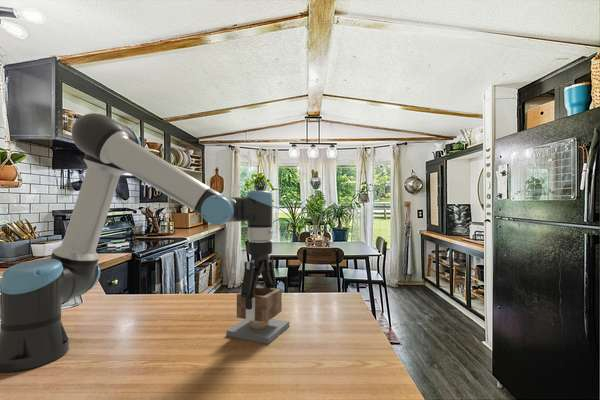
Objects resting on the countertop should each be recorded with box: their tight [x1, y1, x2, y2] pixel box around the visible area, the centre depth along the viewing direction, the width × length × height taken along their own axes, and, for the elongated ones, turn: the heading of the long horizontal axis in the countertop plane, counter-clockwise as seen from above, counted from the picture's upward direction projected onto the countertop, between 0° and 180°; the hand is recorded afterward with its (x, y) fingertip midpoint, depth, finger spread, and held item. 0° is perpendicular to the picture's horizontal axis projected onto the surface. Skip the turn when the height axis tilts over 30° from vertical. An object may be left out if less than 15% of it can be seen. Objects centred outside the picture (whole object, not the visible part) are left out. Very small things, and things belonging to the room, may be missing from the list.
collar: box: [236, 285, 283, 322], centre depth 97 cm, size 10×10×7 cm
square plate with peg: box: [225, 318, 290, 345], centre depth 97 cm, size 14×14×10 cm
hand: (259, 313), depth 97 cm, fingers closed on collar, 10 cm apart
